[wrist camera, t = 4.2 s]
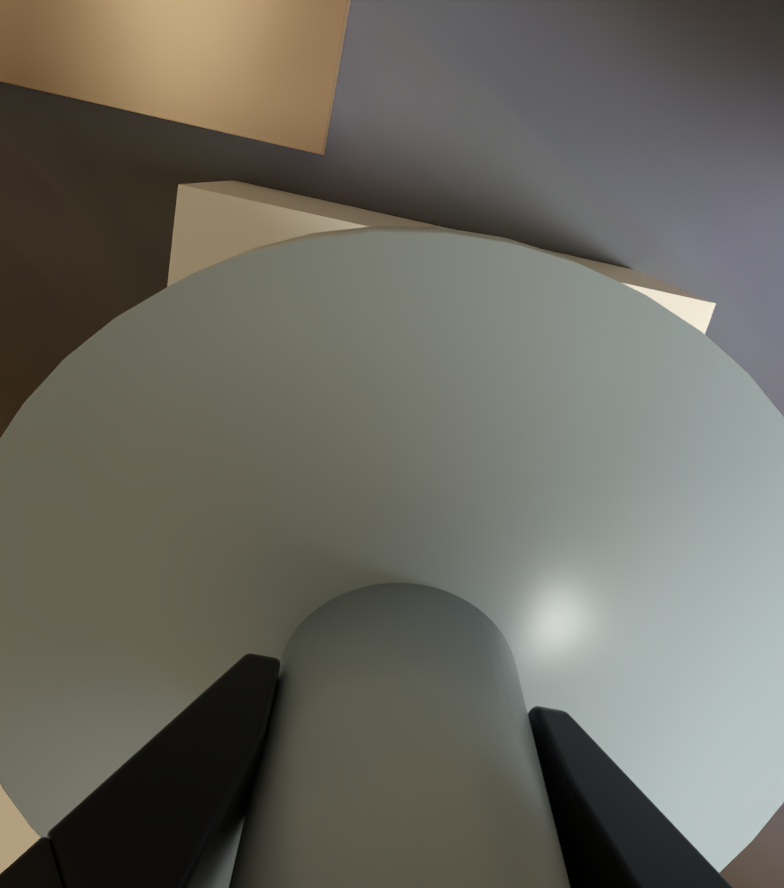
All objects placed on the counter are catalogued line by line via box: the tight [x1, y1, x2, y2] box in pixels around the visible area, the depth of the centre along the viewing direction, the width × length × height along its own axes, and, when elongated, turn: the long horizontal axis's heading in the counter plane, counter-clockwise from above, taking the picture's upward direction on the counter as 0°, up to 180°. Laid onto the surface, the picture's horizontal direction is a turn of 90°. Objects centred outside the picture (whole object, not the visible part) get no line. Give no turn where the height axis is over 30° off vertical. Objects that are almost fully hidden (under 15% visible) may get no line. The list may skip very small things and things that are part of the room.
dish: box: [167, 180, 716, 334], centre depth 17 cm, size 10×10×5 cm
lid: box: [0, 226, 784, 888], centre depth 8 cm, size 11×11×6 cm
